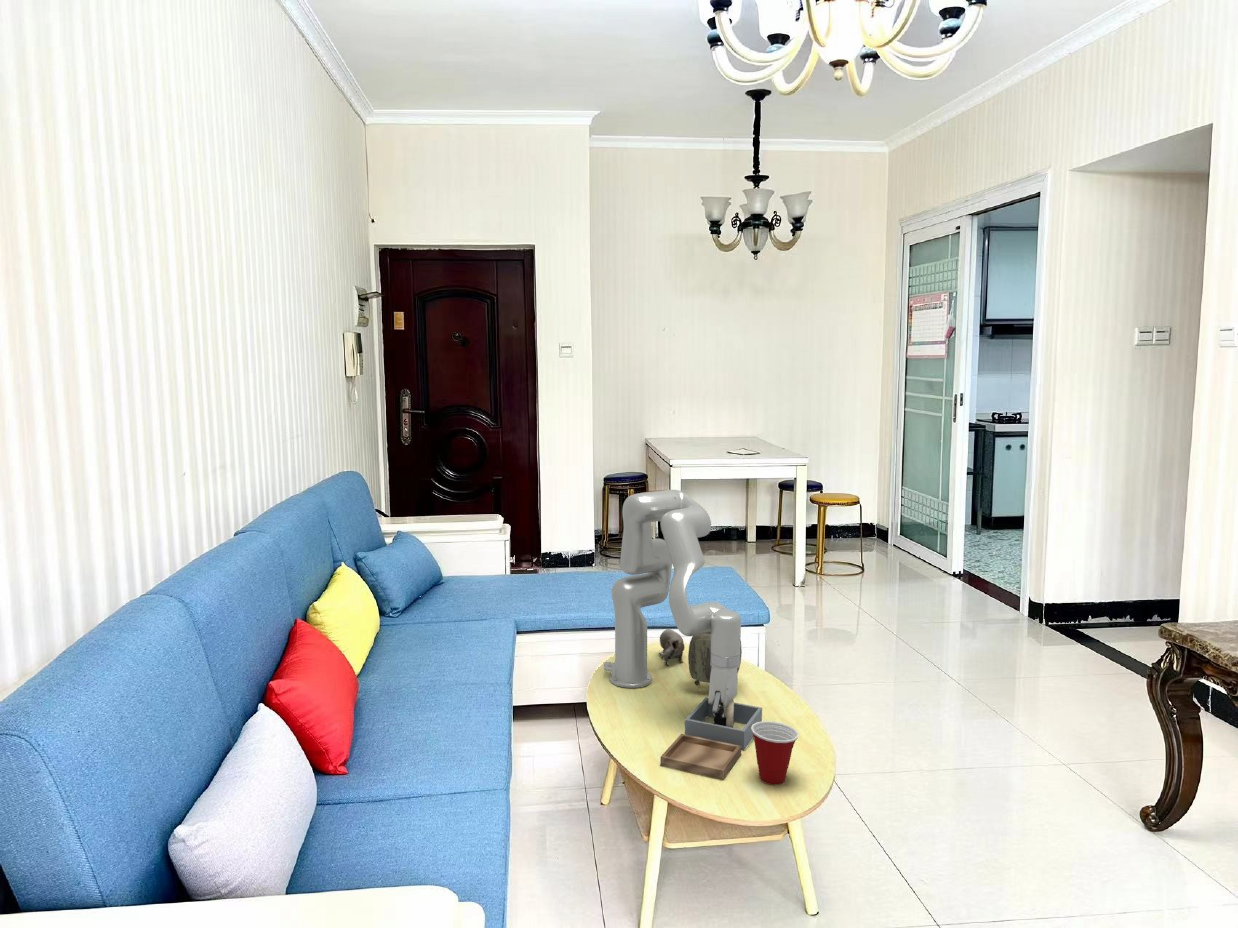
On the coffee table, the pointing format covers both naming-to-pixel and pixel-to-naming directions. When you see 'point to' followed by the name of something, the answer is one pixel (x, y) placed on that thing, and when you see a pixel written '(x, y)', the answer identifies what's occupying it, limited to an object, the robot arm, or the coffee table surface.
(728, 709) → the beige grooved cylinder
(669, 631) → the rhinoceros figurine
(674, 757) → the tray
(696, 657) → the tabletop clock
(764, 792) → the coffee table surface
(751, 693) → the coffee table surface
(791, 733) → the plastic cup
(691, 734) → the grey square frame
